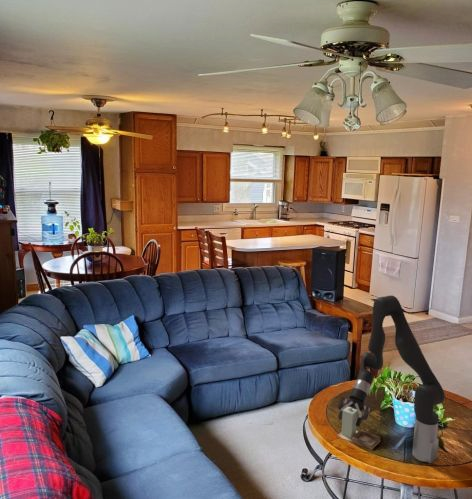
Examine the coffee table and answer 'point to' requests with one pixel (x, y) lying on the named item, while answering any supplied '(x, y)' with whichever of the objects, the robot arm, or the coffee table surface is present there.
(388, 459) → the coffee table surface
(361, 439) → the mount board
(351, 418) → the cabinet block
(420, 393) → the robot arm
